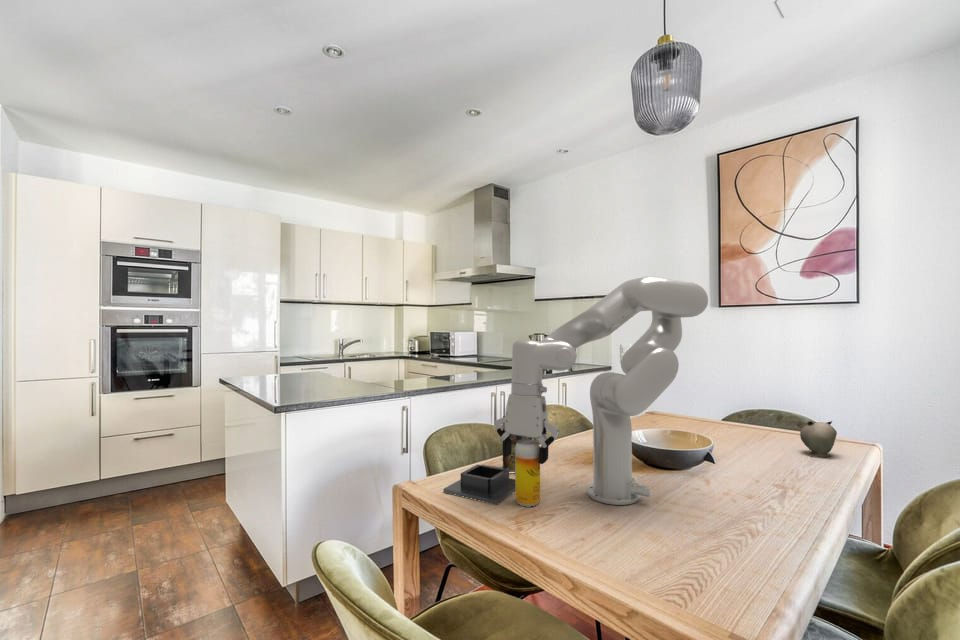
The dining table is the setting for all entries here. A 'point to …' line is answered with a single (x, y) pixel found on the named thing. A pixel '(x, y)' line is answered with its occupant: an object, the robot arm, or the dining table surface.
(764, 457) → the dining table surface
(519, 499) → the beer can
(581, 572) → the dining table surface
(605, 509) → the dining table surface
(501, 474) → the mount
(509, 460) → the coffee box
